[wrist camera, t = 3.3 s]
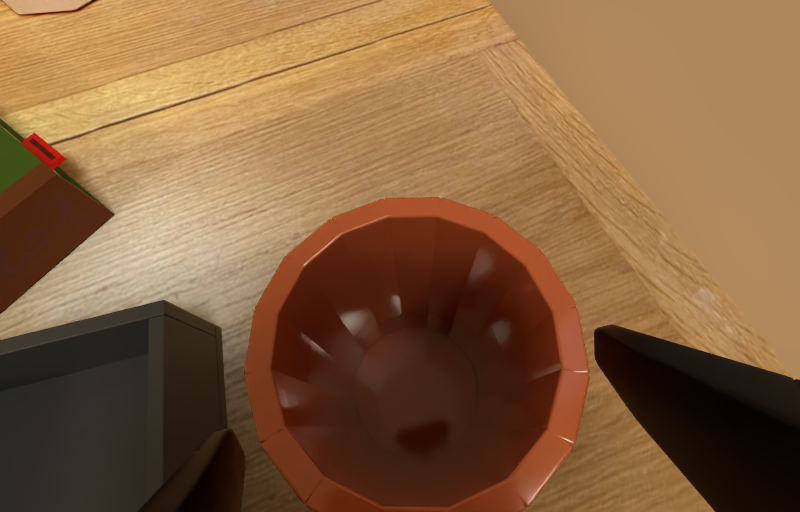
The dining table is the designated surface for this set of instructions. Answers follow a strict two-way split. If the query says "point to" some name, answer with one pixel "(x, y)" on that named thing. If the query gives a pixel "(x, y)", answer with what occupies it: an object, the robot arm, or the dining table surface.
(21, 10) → the cup
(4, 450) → the bin
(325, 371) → the tumbler
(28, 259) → the hardcover book
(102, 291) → the dining table surface
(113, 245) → the dining table surface
